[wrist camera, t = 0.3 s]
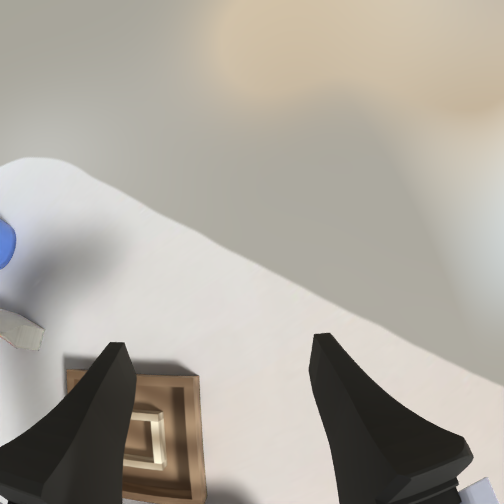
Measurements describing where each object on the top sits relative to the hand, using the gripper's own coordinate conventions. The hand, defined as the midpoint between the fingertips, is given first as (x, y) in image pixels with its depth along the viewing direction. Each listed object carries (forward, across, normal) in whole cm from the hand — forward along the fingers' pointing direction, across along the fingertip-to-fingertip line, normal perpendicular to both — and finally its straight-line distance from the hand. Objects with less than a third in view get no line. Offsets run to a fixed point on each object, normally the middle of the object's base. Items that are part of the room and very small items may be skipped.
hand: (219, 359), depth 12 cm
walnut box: (+14, +14, +31) cm, 36 cm away
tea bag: (+26, +33, +22) cm, 47 cm away
